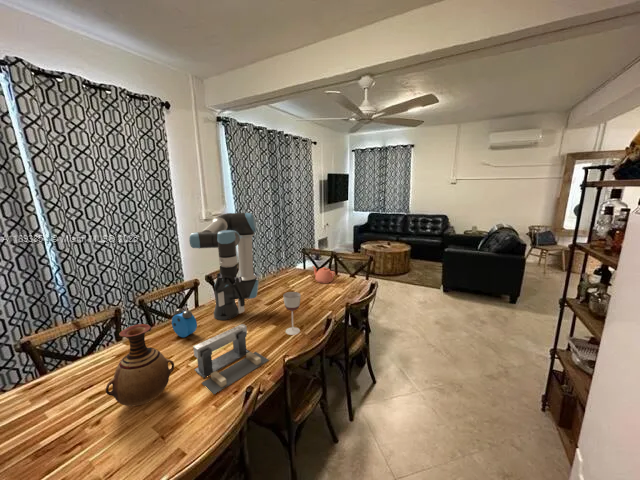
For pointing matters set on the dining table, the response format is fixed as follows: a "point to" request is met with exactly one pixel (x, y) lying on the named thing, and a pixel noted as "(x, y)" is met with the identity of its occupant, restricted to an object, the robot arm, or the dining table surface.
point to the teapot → (323, 275)
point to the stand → (221, 357)
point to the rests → (222, 381)
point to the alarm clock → (184, 323)
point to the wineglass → (292, 308)
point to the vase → (139, 370)
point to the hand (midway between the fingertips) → (231, 308)
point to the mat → (234, 373)
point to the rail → (219, 340)
